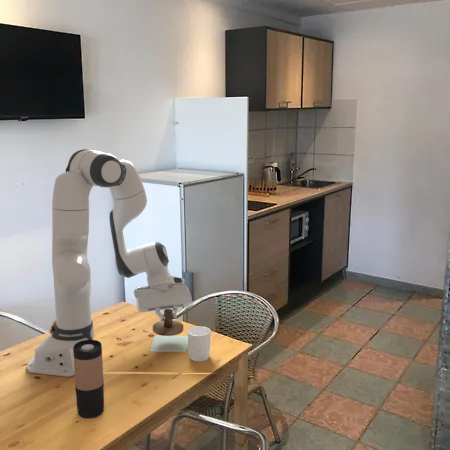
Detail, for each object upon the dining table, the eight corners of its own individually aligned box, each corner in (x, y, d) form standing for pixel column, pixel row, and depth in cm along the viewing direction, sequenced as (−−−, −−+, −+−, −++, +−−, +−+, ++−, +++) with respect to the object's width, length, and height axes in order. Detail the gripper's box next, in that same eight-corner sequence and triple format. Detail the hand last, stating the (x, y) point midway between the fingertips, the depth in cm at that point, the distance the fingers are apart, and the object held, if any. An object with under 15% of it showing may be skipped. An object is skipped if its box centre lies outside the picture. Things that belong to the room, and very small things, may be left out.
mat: (149, 352, 175) (149, 351, 175) (154, 336, 188) (154, 335, 188) (186, 353, 175) (186, 351, 175) (189, 337, 188) (189, 335, 188)
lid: (151, 335, 174) (151, 316, 173) (154, 323, 185) (154, 304, 184) (182, 336, 175) (183, 316, 173) (184, 323, 186) (184, 305, 184)
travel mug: (83, 402, 145) (79, 338, 140) (109, 404, 144) (106, 340, 139) (72, 418, 137) (67, 350, 133) (98, 420, 136) (95, 352, 132)
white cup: (207, 364, 167) (207, 336, 165) (185, 362, 169) (184, 334, 167) (213, 353, 175) (213, 327, 173) (191, 351, 176) (191, 325, 174)
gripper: (134, 283, 178) (142, 319, 172) (188, 278, 187) (197, 312, 180) (131, 291, 183) (138, 327, 177) (183, 285, 192) (192, 319, 185)
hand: (168, 319), depth 179 cm, fingers closed on lid, 3 cm apart
